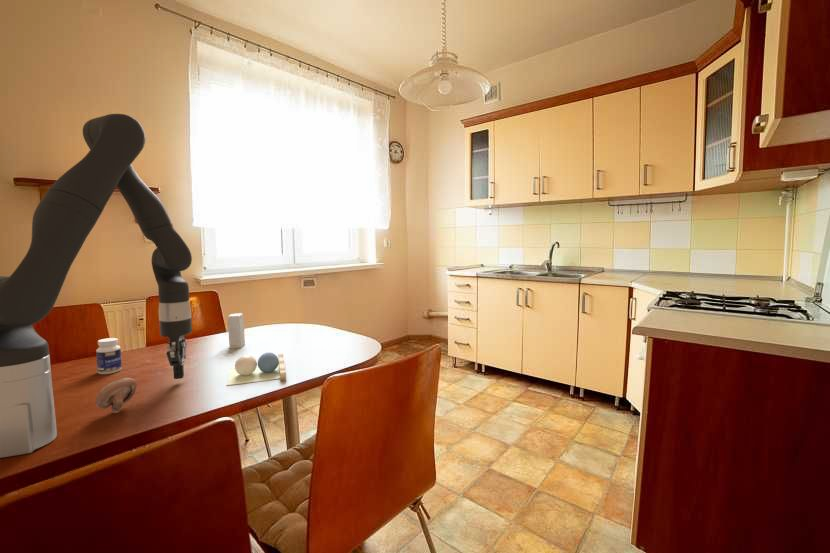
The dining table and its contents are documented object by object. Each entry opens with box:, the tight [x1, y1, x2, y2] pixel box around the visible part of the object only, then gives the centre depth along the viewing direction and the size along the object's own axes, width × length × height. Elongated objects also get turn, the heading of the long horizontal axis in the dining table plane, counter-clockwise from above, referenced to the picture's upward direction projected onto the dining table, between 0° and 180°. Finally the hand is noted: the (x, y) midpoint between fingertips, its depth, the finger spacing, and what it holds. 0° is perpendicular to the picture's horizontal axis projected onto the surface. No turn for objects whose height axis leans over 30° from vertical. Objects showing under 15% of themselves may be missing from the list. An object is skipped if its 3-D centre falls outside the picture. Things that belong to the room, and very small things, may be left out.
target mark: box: [226, 364, 280, 387], centre depth 110 cm, size 14×14×1 cm
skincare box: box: [227, 312, 246, 349], centre depth 139 cm, size 6×4×12 cm
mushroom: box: [95, 377, 138, 414], centre depth 85 cm, size 8×6×8 cm
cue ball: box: [234, 354, 258, 376], centre depth 109 cm, size 6×6×6 cm
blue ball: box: [257, 352, 279, 373], centre depth 112 cm, size 6×6×6 cm
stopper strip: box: [277, 353, 287, 382], centre depth 113 cm, size 18×2×2 cm, turn 22°
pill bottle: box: [95, 337, 123, 375], centre depth 111 cm, size 6×6×10 cm
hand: (179, 377), depth 103 cm, fingers closed
